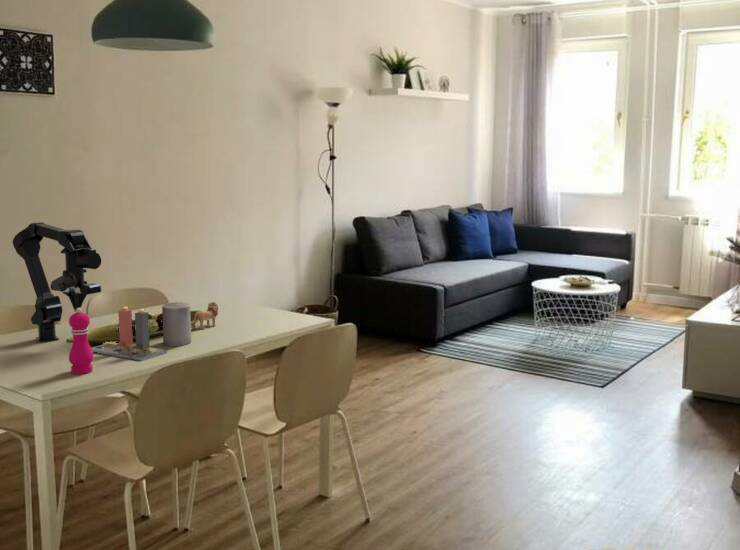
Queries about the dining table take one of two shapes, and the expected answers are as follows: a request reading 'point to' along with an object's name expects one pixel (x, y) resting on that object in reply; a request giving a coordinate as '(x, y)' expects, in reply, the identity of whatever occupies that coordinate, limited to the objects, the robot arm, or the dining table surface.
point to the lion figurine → (206, 315)
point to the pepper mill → (80, 344)
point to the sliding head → (125, 327)
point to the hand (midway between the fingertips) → (77, 311)
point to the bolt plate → (128, 351)
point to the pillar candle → (176, 324)
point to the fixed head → (141, 330)
